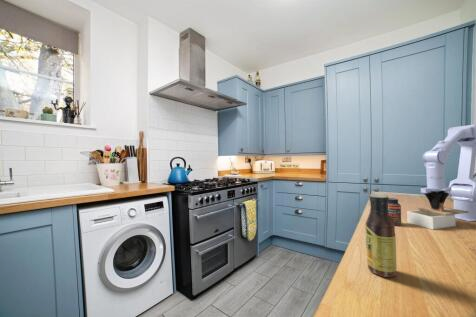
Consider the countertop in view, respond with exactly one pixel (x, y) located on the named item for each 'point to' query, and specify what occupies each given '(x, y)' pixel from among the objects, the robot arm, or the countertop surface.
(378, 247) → the sauce bottle
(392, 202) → the supplement bottle
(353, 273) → the countertop surface
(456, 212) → the lid
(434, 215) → the carton
